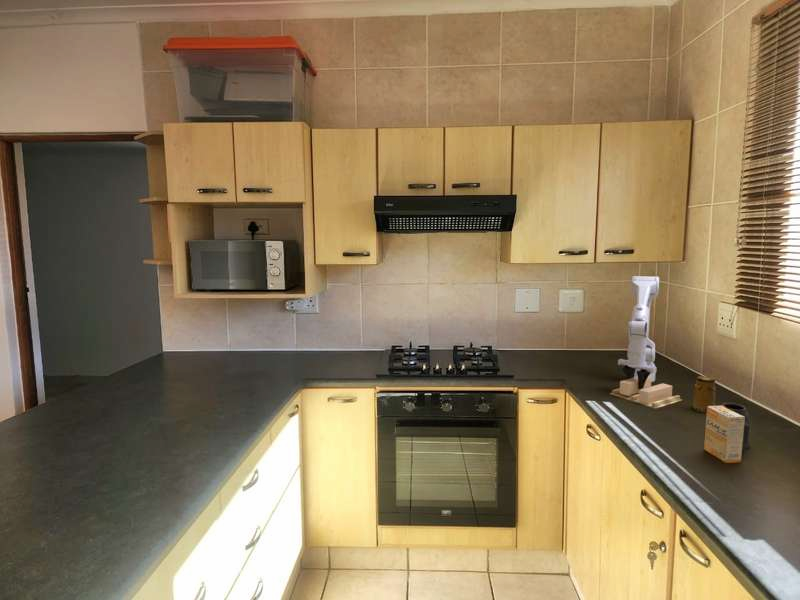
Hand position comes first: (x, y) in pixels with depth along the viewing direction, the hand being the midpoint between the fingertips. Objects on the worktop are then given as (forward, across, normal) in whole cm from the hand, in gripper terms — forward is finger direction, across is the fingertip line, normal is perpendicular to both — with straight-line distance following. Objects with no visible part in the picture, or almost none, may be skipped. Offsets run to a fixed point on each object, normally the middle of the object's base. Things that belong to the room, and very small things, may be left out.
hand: (635, 387), depth 178 cm
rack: (+3, +4, 0) cm, 5 cm away
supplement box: (+4, +43, -24) cm, 50 cm away
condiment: (+4, +23, +4) cm, 24 cm away
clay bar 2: (+3, +8, 0) cm, 8 cm away
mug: (+4, +41, -14) cm, 44 cm away
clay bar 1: (+2, 0, 0) cm, 2 cm away
